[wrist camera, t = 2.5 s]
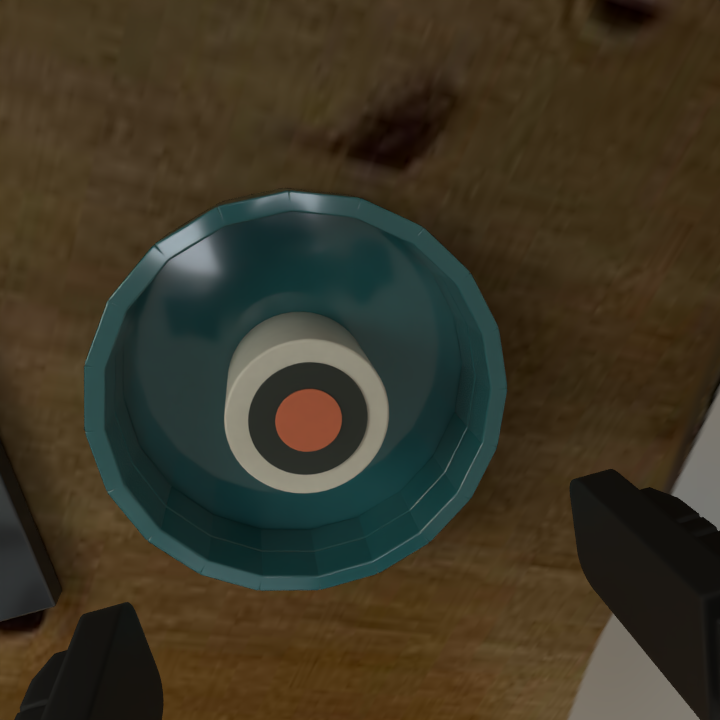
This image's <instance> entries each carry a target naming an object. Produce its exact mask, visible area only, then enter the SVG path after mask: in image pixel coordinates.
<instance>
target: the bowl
mask: <svg viewBox="0 0 720 720" xmlns="http://www.w3.org/2000/svg"><path fill="white" fill-rule="evenodd" d="M290 312H310V313H315V314H319V315H322V316H325V317H328V318H330V319H332V320H334V321H336V322H337V323H339V324H340V325H342V326H343V327H344V328H345V329H346V330H347V331H349V332H350V333H351V335H352V336H353V337H354V338H355V339H356V341H357V342H358V344H359V346H360V347H361V349H362V350H363V352H364V353H365V355H366V356H367V358H368V360H369V361H370V363H371V364H372V366H373V367H374V369H375V370H376V372H377V374H378V375H379V377H380V378H381V380H382V383H383V385H384V387H385V390H386V394H387V397H388V404H389V421H388V428H387V432H386V435H385V438H384V441H383V443H382V445H381V447H380V449H379V451H378V452H377V454H376V456H375V457H374V458H373V460H372V461H371V462H370V464H369V465H368V466H367V467H366V468H365V469H364V470H363V471H362V472H360V473H359V474H358V475H357V476H355V477H354V478H352V479H351V480H349V481H348V482H346V483H344V484H342V485H340V486H337V487H335V488H332V489H329V490H326V491H321V492H316V493H292V492H286V491H282V490H278V489H275V488H273V487H270V486H268V485H266V484H264V483H262V482H261V481H259V480H257V479H256V478H254V477H253V476H252V475H251V474H249V473H248V472H247V471H246V470H245V469H244V468H243V467H242V466H241V464H240V463H239V462H238V460H237V459H236V458H235V456H234V454H233V452H232V450H231V449H230V446H229V443H228V441H227V437H226V432H225V425H224V413H225V401H226V390H227V380H228V370H229V366H230V362H231V359H232V356H233V353H234V352H235V350H236V348H237V346H238V344H239V343H240V342H241V340H242V339H243V338H244V337H245V335H246V334H247V333H248V332H249V331H250V330H252V329H253V328H254V327H255V326H257V325H258V324H260V323H261V322H263V321H265V320H267V319H269V318H271V317H273V316H277V315H280V314H284V313H290ZM506 394H507V380H506V373H505V366H504V359H503V353H502V346H501V339H500V332H499V329H498V325H497V323H496V321H495V319H494V317H493V315H492V313H491V311H490V309H489V307H488V305H487V303H486V301H485V299H484V297H483V295H482V293H481V292H480V290H479V288H478V286H477V284H476V282H475V280H474V278H473V276H472V274H471V273H470V271H469V270H468V269H467V268H466V267H465V266H464V265H463V264H462V263H461V262H460V261H459V260H458V259H457V258H455V257H454V256H453V255H452V254H451V253H450V252H449V251H448V250H447V249H446V248H445V247H444V246H443V245H442V244H441V243H440V242H439V241H438V240H437V239H436V238H435V237H434V236H433V235H432V234H430V233H429V232H428V231H427V230H426V229H425V228H423V227H422V226H421V225H419V224H417V223H414V222H412V221H410V220H408V219H406V218H404V217H401V216H399V215H397V214H395V213H393V212H391V211H389V210H386V209H384V208H382V207H380V206H378V205H376V204H373V203H371V202H369V201H367V200H365V199H363V198H359V197H355V196H350V195H346V194H339V193H330V192H320V191H311V190H302V189H292V188H279V189H275V190H270V191H266V192H261V193H256V194H251V195H247V196H243V197H239V198H234V199H229V200H225V201H222V202H219V203H217V204H216V205H214V206H212V207H211V208H209V209H208V210H206V211H204V212H203V213H201V214H199V215H198V216H196V217H194V218H193V219H191V220H189V221H188V222H186V223H184V224H183V225H181V226H179V227H178V228H176V229H174V230H173V231H171V232H169V233H168V234H167V235H165V236H164V237H163V238H162V239H160V240H159V241H158V242H156V243H155V244H154V245H153V246H152V247H151V248H150V249H149V251H148V252H147V253H146V254H145V255H144V257H143V258H142V259H141V260H140V261H139V263H138V264H137V265H136V266H135V267H134V269H133V270H132V271H131V272H130V273H129V275H128V276H127V277H126V278H125V280H124V281H123V282H122V283H121V284H120V286H119V287H118V288H117V289H116V290H115V292H114V293H113V294H112V295H111V296H110V298H109V300H108V301H107V303H106V306H105V309H104V311H103V314H102V317H101V320H100V322H99V325H98V328H97V331H96V333H95V336H94V339H93V342H92V344H91V347H90V350H89V353H88V355H87V358H86V361H85V366H84V430H85V431H86V432H85V434H86V437H87V440H88V442H89V445H90V448H91V450H92V453H93V456H94V459H95V461H96V464H97V467H98V469H99V472H100V475H101V478H102V480H103V483H104V486H105V489H106V490H107V491H108V494H109V495H110V496H111V498H112V499H113V500H114V501H115V503H116V504H117V505H118V506H119V507H120V509H121V510H122V511H123V512H124V514H125V515H126V516H127V517H128V518H129V520H130V521H131V522H132V523H133V524H134V526H135V527H136V528H137V529H138V531H139V532H140V533H141V534H142V535H143V537H144V538H145V539H146V540H148V542H150V543H151V544H153V545H154V546H156V547H157V548H159V549H161V550H162V551H164V552H165V553H167V554H169V555H170V556H172V557H173V558H175V559H176V560H178V561H180V562H181V563H183V564H184V565H186V566H187V567H189V568H191V569H192V570H194V571H195V572H197V573H200V574H201V575H203V576H207V577H211V578H214V579H218V580H221V581H225V582H229V583H232V584H236V585H239V586H243V587H247V588H250V589H254V590H260V591H280V590H319V589H321V590H322V589H326V588H329V587H333V586H337V585H340V584H344V583H347V582H351V581H354V580H358V579H361V578H365V577H368V576H372V575H375V574H377V573H380V572H382V571H384V570H385V569H387V568H388V567H390V566H392V565H393V564H395V563H397V562H398V561H400V560H402V559H403V558H405V557H407V556H408V555H410V554H412V553H413V552H415V551H417V550H418V549H420V548H422V547H423V546H425V545H427V544H428V543H429V542H430V541H432V540H433V539H434V538H435V536H436V535H437V534H438V533H439V532H440V531H441V530H442V529H443V528H444V527H445V526H446V525H447V524H448V523H449V522H450V521H451V519H452V518H453V517H454V516H455V515H456V514H457V513H458V512H459V511H460V510H461V509H462V508H463V507H464V506H465V505H466V504H467V502H468V501H469V500H470V499H471V498H472V496H473V494H474V492H475V490H476V488H477V486H478V484H479V482H480V480H481V478H482V476H483V474H484V472H485V470H486V468H487V466H488V465H489V463H490V461H491V459H492V457H493V455H494V453H495V451H496V449H497V445H498V440H499V434H500V429H501V423H502V417H503V411H504V406H505V400H506Z"/></svg>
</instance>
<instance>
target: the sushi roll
mask: <svg viewBox="0 0 720 720" xmlns="http://www.w3.org/2000/svg"><path fill="white" fill-rule="evenodd" d="M388 421H389V404H388V397H387V394H386V390H385V387H384V385H383V383H382V380H381V378H380V377H379V375H378V374H377V372H376V370H375V369H374V367H373V366H372V364H371V363H370V361H369V360H368V358H367V356H366V355H365V353H364V352H363V350H362V349H361V347H360V346H359V344H358V342H357V341H356V339H355V338H354V337H353V336H352V335H351V333H350V332H349V331H347V330H346V329H345V328H344V327H343V326H342V325H340V324H339V323H337V322H336V321H334V320H332V319H330V318H328V317H325V316H322V315H319V314H315V313H310V312H290V313H284V314H280V315H277V316H273V317H271V318H269V319H267V320H265V321H263V322H261V323H260V324H258V325H257V326H255V327H254V328H253V329H252V330H250V331H249V332H248V333H247V334H246V335H245V337H244V338H243V339H242V340H241V342H240V343H239V344H238V346H237V348H236V350H235V352H234V353H233V356H232V359H231V362H230V366H229V370H228V380H227V390H226V401H225V413H224V425H225V432H226V437H227V441H228V443H229V446H230V449H231V450H232V452H233V454H234V456H235V458H236V459H237V460H238V462H239V463H240V464H241V466H242V467H243V468H244V469H245V470H246V471H247V472H248V473H249V474H251V475H252V476H253V477H254V478H256V479H257V480H259V481H261V482H262V483H264V484H266V485H268V486H270V487H273V488H275V489H278V490H282V491H286V492H292V493H316V492H321V491H326V490H329V489H332V488H335V487H337V486H340V485H342V484H344V483H346V482H348V481H349V480H351V479H352V478H354V477H355V476H357V475H358V474H359V473H360V472H362V471H363V470H364V469H365V468H366V467H367V466H368V465H369V464H370V462H371V461H372V460H373V458H374V457H375V456H376V454H377V452H378V451H379V449H380V447H381V445H382V443H383V441H384V438H385V435H386V432H387V428H388Z"/></svg>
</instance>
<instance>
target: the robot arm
mask: <svg viewBox="0 0 720 720" xmlns="http://www.w3.org/2000/svg"><path fill="white" fill-rule="evenodd" d="M570 498H571V505H572V513H573V521H574V529H575V537H576V544H577V552H578V557H579V560H580V564H581V567H582V569H583V572H584V574H585V576H586V578H587V580H588V582H589V583H590V585H591V586H592V588H593V589H594V590H595V591H596V593H597V594H598V595H599V596H600V598H601V599H602V600H603V601H604V602H605V604H606V605H607V606H608V607H609V609H610V610H611V611H612V612H613V613H614V615H615V616H616V617H617V618H618V620H619V621H620V622H621V623H622V624H623V626H624V627H625V628H626V629H627V631H628V632H629V633H630V634H631V635H632V637H633V638H634V639H635V640H636V641H637V643H638V644H639V645H640V646H641V648H642V649H643V650H644V651H645V652H646V654H647V655H648V656H649V657H650V659H651V660H652V661H653V662H654V664H655V665H656V666H657V667H658V669H659V670H660V671H661V672H662V673H663V675H664V676H665V677H666V678H667V680H668V681H669V682H670V683H671V684H672V686H673V687H674V688H675V689H676V690H677V692H678V693H679V694H680V695H681V697H682V698H683V699H684V700H685V701H686V703H687V704H688V705H689V706H690V708H691V709H692V710H693V711H694V713H695V714H696V715H697V716H698V717H699V719H700V720H720V531H718V530H717V528H716V527H715V526H714V525H713V524H711V523H710V522H709V521H708V520H706V519H705V518H704V517H700V516H699V513H697V512H696V511H694V510H693V509H692V508H691V507H689V506H688V505H687V504H685V503H684V502H683V501H681V500H680V499H679V498H677V497H674V496H672V495H669V494H666V493H664V492H661V491H658V490H656V489H653V488H650V487H649V488H645V489H642V490H639V489H638V488H636V487H635V486H634V485H633V484H632V483H630V482H629V481H628V480H627V479H625V478H624V477H623V476H622V475H621V474H619V473H618V472H617V471H615V470H613V469H608V470H605V471H601V472H598V473H594V474H590V475H587V476H583V477H580V478H576V479H573V480H572V481H571V483H570ZM162 714H163V690H162V683H161V679H160V675H159V672H158V669H157V666H156V664H155V661H154V658H153V656H152V653H151V651H150V648H149V645H148V643H147V640H146V638H145V635H144V632H143V630H142V627H141V624H140V622H139V619H138V617H137V614H136V612H135V610H134V608H133V606H132V605H131V604H130V603H128V602H125V603H122V604H118V605H115V606H111V607H107V608H104V609H100V610H97V611H93V612H89V613H86V614H83V615H82V616H81V618H80V620H79V622H78V624H77V627H76V630H75V632H74V635H73V637H72V640H71V642H70V645H69V648H68V650H66V651H62V652H59V653H55V654H54V655H53V656H52V657H51V658H50V660H49V661H48V662H47V663H46V664H45V665H44V667H43V668H42V669H41V670H40V671H39V672H38V674H37V675H36V676H35V677H34V678H33V679H32V681H31V683H30V685H29V688H28V690H27V692H26V695H25V697H24V699H23V701H22V704H21V706H20V713H17V715H16V717H15V720H162Z"/></svg>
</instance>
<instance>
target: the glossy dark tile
mask: <svg viewBox="0 0 720 720" xmlns="http://www.w3.org/2000/svg"><path fill="white" fill-rule="evenodd" d="M61 592H62V589H61V586H60V584H59V581H58V579H57V577H56V574H55V572H54V569H53V567H52V565H51V562H50V560H49V557H48V555H47V552H46V550H45V548H44V545H43V543H42V540H41V538H40V535H39V533H38V531H37V528H36V526H35V523H34V521H33V519H32V516H31V514H30V511H29V509H28V506H27V504H26V502H25V499H24V497H23V494H22V492H21V490H20V487H19V485H18V482H17V480H16V477H15V475H14V473H13V470H12V468H11V465H10V463H9V460H8V458H7V456H6V453H5V451H4V448H3V446H2V444H1V441H0V622H1V621H4V620H8V619H11V618H15V617H19V616H22V615H26V614H30V613H33V612H37V611H41V610H44V609H48V608H51V607H54V606H56V604H57V602H58V599H59V597H60V595H61Z"/></svg>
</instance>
